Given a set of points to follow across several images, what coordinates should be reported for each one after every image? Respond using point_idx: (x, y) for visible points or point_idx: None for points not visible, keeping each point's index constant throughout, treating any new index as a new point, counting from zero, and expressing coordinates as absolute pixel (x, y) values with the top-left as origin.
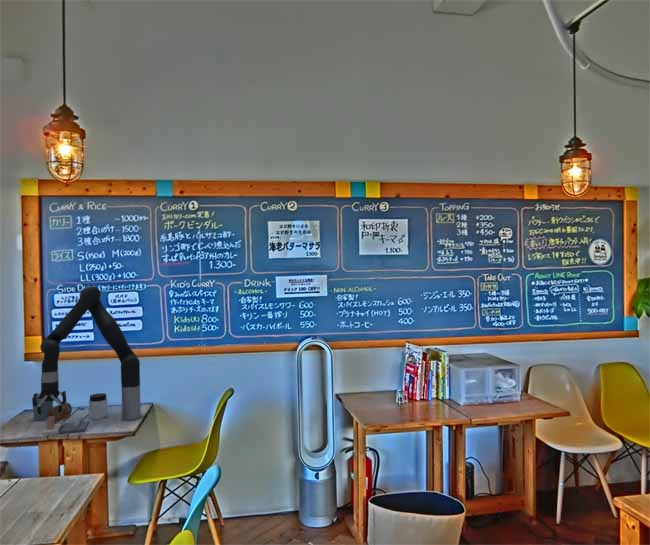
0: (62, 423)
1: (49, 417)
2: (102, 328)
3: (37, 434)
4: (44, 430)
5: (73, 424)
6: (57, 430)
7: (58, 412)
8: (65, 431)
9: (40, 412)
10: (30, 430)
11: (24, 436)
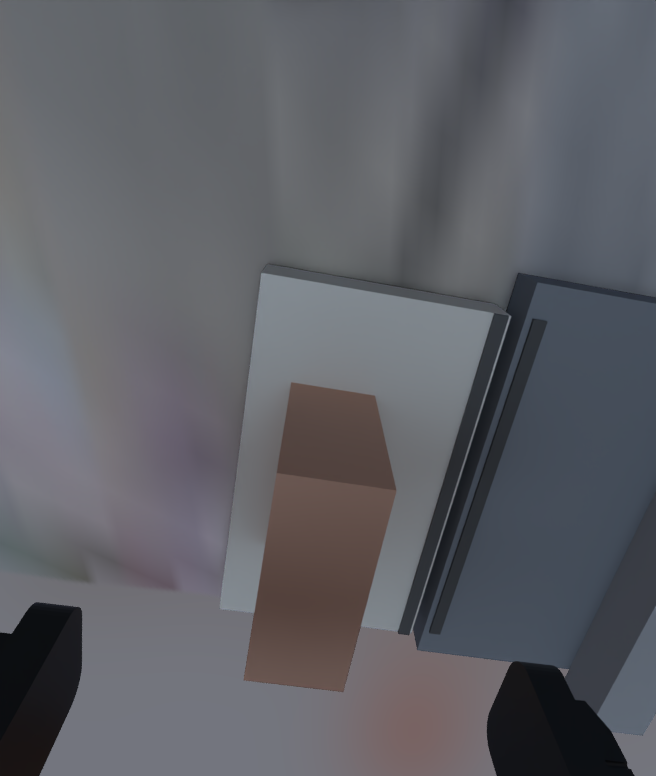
0: (500, 319)
1: (290, 557)
2: None
3: (161, 488)
4: (239, 546)
5: (637, 439)
6: (398, 633)
7: (490, 747)
8: (482, 651)
9: (54, 734)
10: (9, 218)
11: (11, 491)
